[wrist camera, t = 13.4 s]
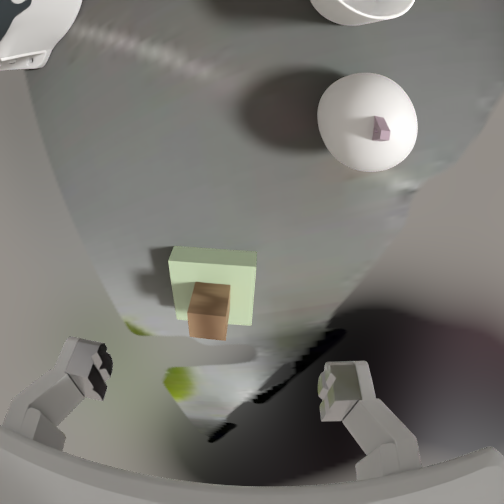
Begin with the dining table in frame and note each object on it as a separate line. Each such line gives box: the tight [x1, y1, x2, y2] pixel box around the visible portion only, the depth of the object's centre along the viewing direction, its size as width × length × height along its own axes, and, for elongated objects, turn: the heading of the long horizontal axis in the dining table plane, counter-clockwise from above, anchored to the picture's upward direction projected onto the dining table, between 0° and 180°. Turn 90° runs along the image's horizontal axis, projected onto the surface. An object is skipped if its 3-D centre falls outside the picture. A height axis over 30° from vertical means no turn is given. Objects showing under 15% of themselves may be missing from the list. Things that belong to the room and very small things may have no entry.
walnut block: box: [187, 282, 231, 341], centre depth 43 cm, size 5×5×6 cm
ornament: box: [317, 73, 417, 172], centre depth 28 cm, size 10×10×12 cm
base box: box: [168, 246, 257, 326], centre depth 47 cm, size 12×12×4 cm
